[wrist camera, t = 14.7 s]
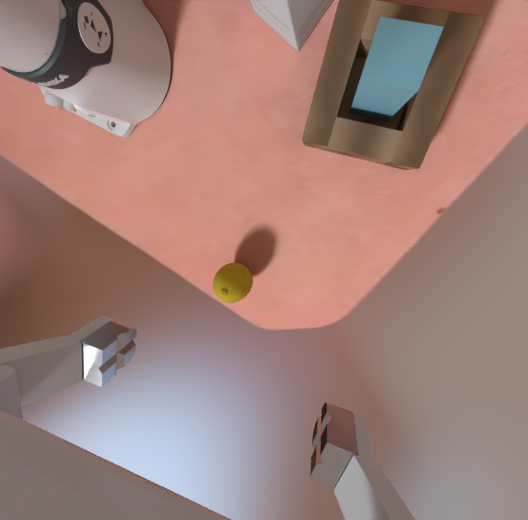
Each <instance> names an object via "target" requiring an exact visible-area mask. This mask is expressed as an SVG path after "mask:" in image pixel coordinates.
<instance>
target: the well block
mask: <svg viewBox="0 0 528 520" xmlns="http://www.w3.org/2000/svg"><path fill="white" fill-rule="evenodd" d="M380 17H386V18H393V19H399V20H405V21H411V22H417V23H423V24H430V25H436V26H442V27H443V30H442V32H441V35H440V37H439V40H438V42H437V45H436V48H435V50H434V53H433V55H432V58H431V60H430V63H429V65H428V68H427V70H426V73H425V75H424V78H423V81H422V83H421V86H420V88H419V91H418V92H417V93H416V94H414V95H413V96H412V97H411V98H410V99H409V100H408V101H407V102H406V103H405V104H404V105H403V106H402V107H401V108H400V109H399V110H398V111H397V112H396V113H395V114H394V115H393V116H392V117H391V118H390V119H389V120H388V121H386V120H381V119H377V118H372V117H368V116H363V115H359V114H354V113H349V112H350V109H351V106H352V103H353V100H354V97H355V94H356V90H357V87H358V84H359V81H360V78H361V75H362V72H363V69H364V65H365V62H366V59H367V56H368V53H369V50H370V47H371V44H372V41H373V38H374V35H375V31H376V28H377V25H378V22H379V19H380ZM484 19H485V17H482V16H476V15H469V14H463V13H456V12H450V11H443V10H437V9H430V8H424V7H417V6H411V5H404V4H398V3H391V2H385V1H378V0H339V3H338V7H337V11H336V15H335V18H334V22H333V26H332V29H331V33H330V37H329V41H328V44H327V48H326V52H325V55H324V59H323V63H322V67H321V70H320V74H319V78H318V81H317V85H316V89H315V93H314V96H313V100H312V104H311V108H310V111H309V115H308V119H307V122H306V126H305V130H304V134H303V137H302V141H303V143H304V144H305V146H309V147H314V148H318V149H322V150H326V151H330V152H334V153H338V154H342V155H346V156H350V157H355V158H359V159H363V160H367V161H371V162H375V163H379V164H383V165H387V166H391V167H395V168H400V169H404V170H411V169H419V168H420V166H421V164H422V161H423V159H424V157H425V155H426V152H427V150H428V148H429V145H430V143H431V141H432V139H433V136H434V134H435V132H436V129H437V127H438V125H439V122H440V120H441V118H442V116H443V113H444V111H445V109H446V106H447V104H448V102H449V100H450V97H451V95H452V93H453V90H454V88H455V86H456V83H457V81H458V79H459V77H460V74H461V72H462V70H463V67H464V65H465V63H466V61H467V58H468V56H469V54H470V51H471V49H472V47H473V44H474V42H475V40H476V38H477V35H478V33H479V31H480V28H481V26H482V24H483V22H484Z"/></svg>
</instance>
